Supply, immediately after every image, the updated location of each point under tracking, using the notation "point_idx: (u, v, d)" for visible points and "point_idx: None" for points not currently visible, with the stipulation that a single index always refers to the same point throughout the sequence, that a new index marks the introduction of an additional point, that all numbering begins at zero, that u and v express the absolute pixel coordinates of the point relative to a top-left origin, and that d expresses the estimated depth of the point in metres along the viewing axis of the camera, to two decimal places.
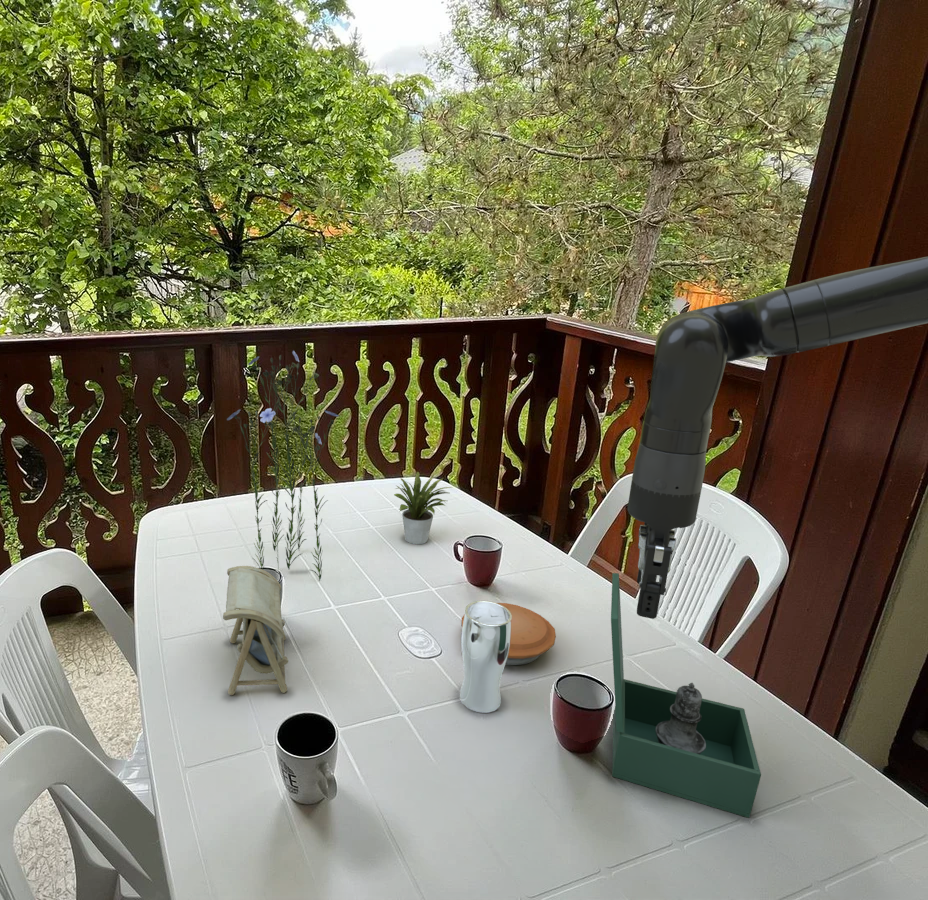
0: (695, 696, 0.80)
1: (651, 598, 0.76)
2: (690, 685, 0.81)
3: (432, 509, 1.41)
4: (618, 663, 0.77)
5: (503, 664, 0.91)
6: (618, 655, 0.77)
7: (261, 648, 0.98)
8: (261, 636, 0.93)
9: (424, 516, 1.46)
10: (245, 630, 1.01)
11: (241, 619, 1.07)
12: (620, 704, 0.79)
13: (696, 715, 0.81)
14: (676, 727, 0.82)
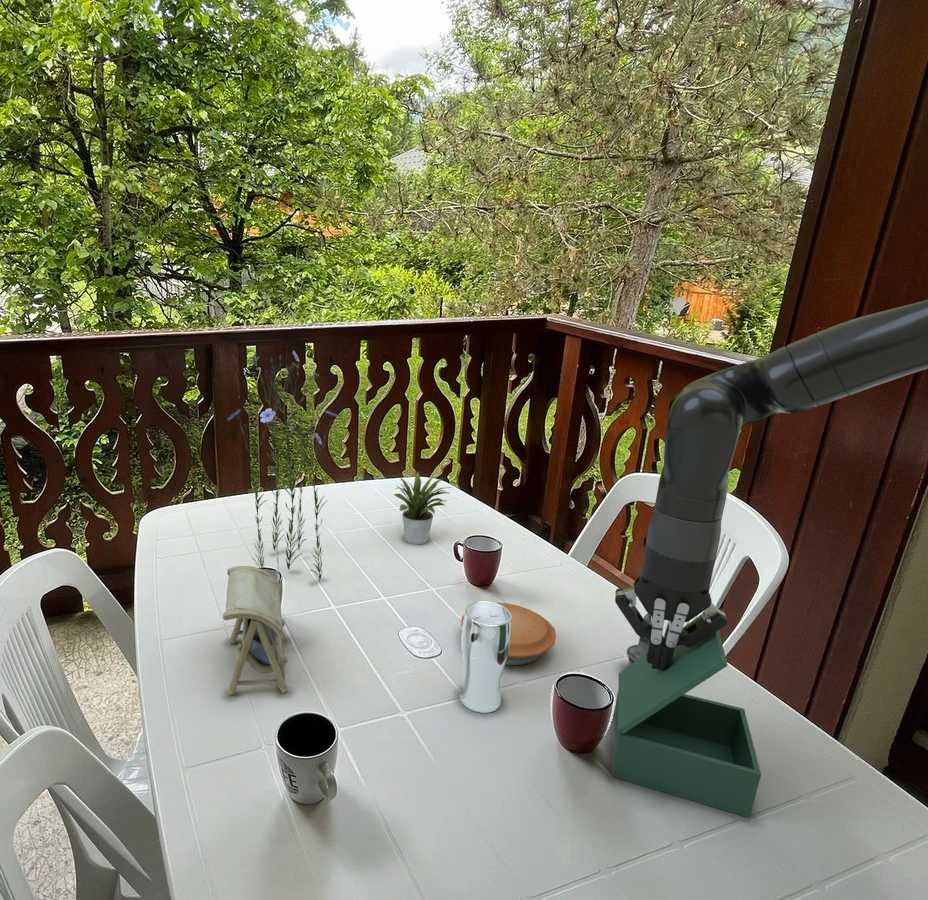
0: None
1: None
2: None
3: (432, 509, 1.41)
4: (684, 692, 0.75)
5: (503, 664, 0.91)
6: (691, 687, 0.75)
7: (261, 648, 0.98)
8: (261, 636, 0.93)
9: (424, 516, 1.46)
10: (245, 630, 1.01)
11: (241, 619, 1.07)
12: (646, 717, 0.78)
13: None
14: (643, 647, 0.99)
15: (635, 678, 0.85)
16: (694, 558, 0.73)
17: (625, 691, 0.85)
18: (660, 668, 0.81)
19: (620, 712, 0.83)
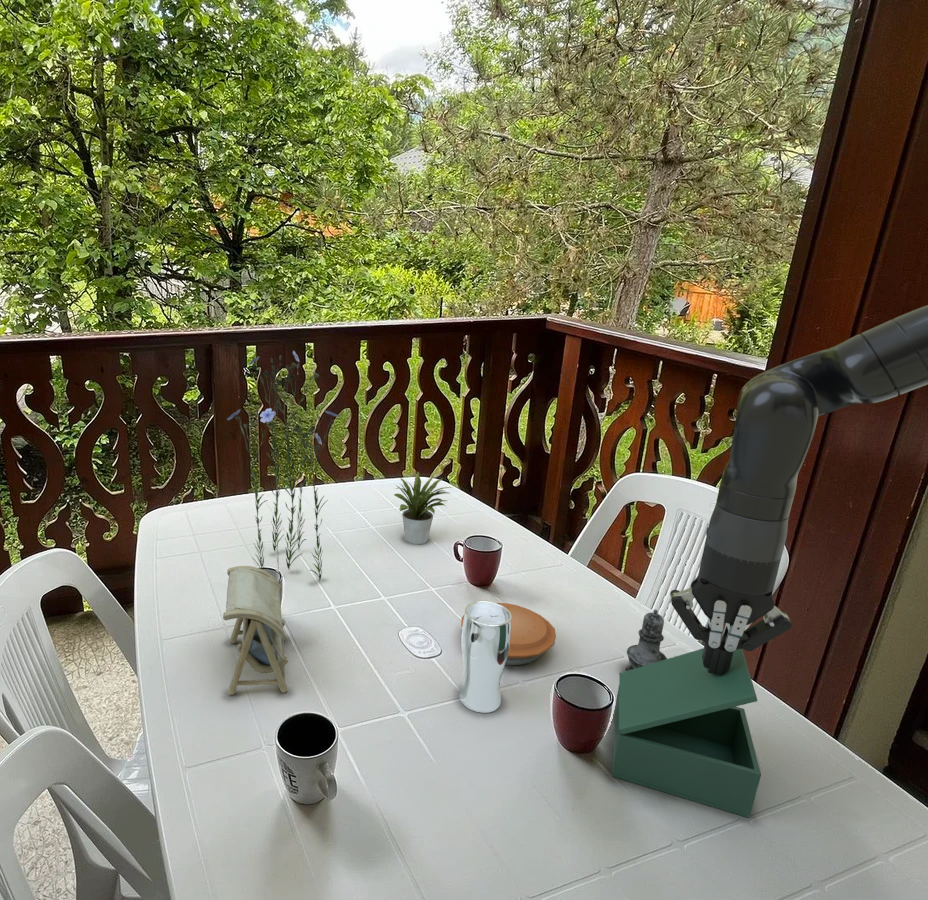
0: (658, 620, 0.97)
1: None
2: (654, 611, 0.98)
3: (432, 509, 1.41)
4: (701, 713, 0.75)
5: (503, 664, 0.91)
6: (711, 711, 0.75)
7: (261, 648, 0.98)
8: (261, 636, 0.93)
9: (424, 516, 1.46)
10: (245, 630, 1.01)
11: (241, 619, 1.07)
12: (653, 725, 0.78)
13: (659, 636, 0.98)
14: (643, 647, 0.99)
15: (641, 684, 0.85)
16: (760, 558, 0.70)
17: (628, 693, 0.85)
18: (718, 673, 0.78)
19: (622, 712, 0.82)
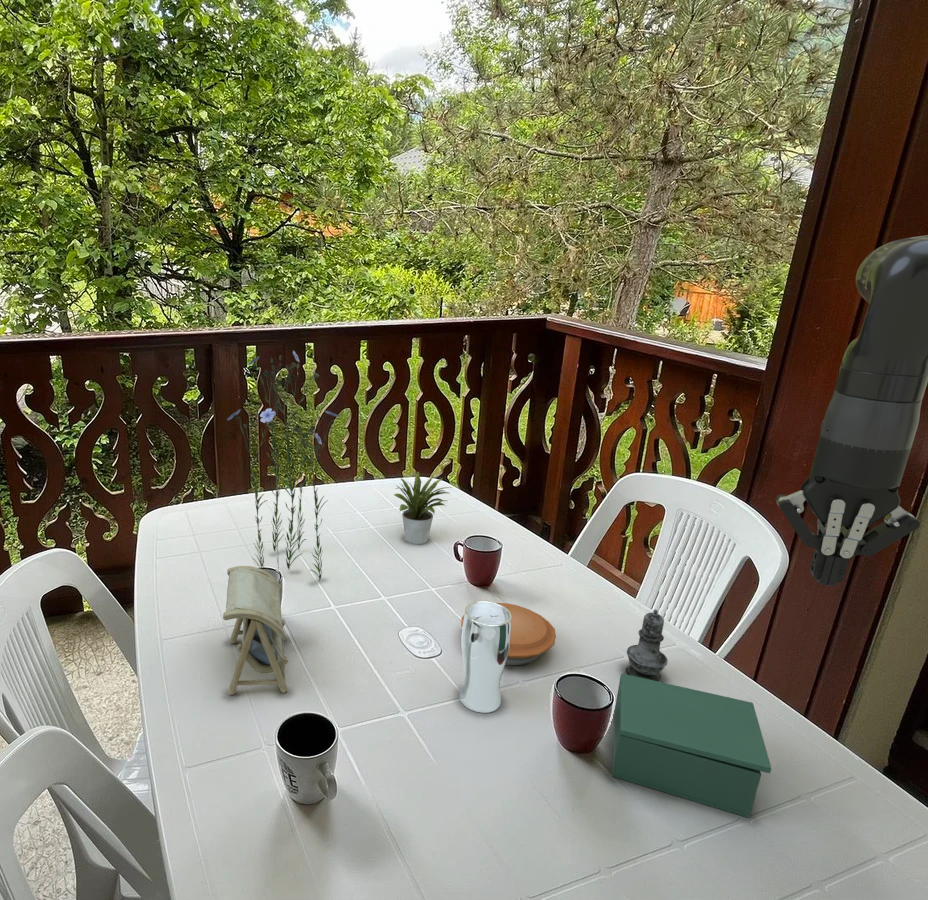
0: (658, 620, 0.97)
1: None
2: (654, 611, 0.98)
3: (432, 509, 1.41)
4: (710, 757, 0.76)
5: (503, 664, 0.91)
6: (720, 760, 0.76)
7: (261, 648, 0.98)
8: (261, 636, 0.93)
9: (424, 516, 1.46)
10: (245, 630, 1.01)
11: (241, 619, 1.07)
12: (656, 742, 0.78)
13: (659, 636, 0.98)
14: (643, 647, 0.99)
15: (646, 696, 0.86)
16: (891, 446, 0.64)
17: (631, 698, 0.85)
18: (830, 583, 0.71)
19: (624, 714, 0.82)
